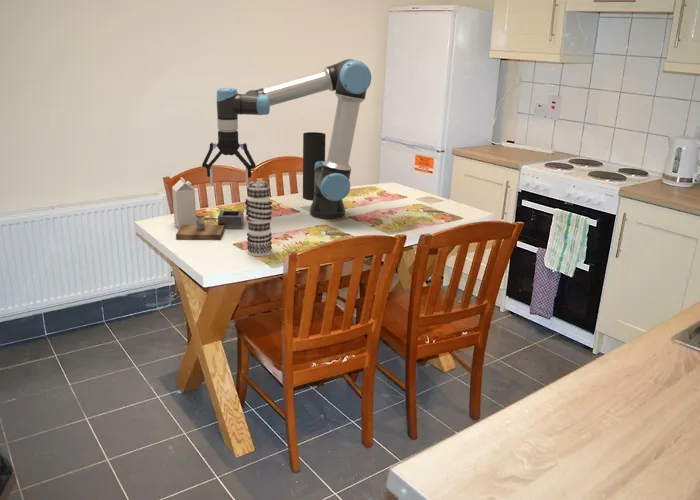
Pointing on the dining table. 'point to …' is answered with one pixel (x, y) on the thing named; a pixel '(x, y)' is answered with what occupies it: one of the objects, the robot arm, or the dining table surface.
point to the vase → (311, 160)
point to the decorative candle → (258, 218)
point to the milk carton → (184, 203)
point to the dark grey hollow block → (231, 219)
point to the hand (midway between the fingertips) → (229, 185)
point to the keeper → (200, 230)
